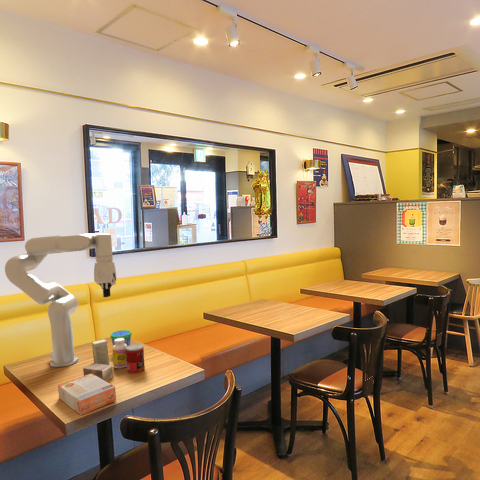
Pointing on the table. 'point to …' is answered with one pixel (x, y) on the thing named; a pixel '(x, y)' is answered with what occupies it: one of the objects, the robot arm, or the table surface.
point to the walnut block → (99, 371)
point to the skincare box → (100, 352)
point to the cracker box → (86, 393)
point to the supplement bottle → (119, 353)
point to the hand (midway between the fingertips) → (107, 296)
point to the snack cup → (121, 336)
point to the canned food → (135, 358)
